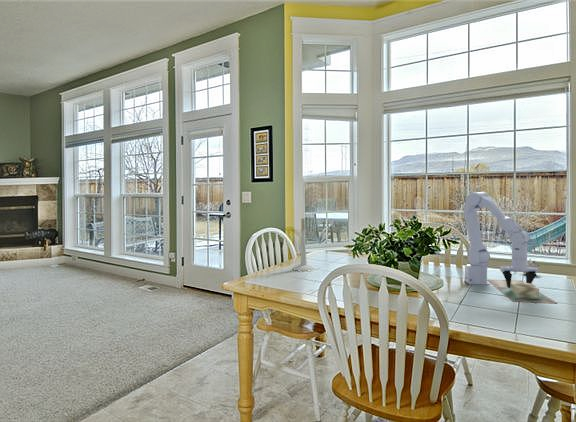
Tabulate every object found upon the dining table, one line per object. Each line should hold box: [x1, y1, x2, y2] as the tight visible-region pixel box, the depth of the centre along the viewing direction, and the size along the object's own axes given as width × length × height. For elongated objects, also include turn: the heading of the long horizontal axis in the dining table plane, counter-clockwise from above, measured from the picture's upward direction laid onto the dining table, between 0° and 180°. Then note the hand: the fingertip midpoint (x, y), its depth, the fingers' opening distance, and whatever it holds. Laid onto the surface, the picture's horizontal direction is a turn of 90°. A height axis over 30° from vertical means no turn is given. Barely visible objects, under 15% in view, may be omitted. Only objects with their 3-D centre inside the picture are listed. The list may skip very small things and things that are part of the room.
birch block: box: [510, 282, 540, 298], centre depth 156 cm, size 8×8×4 cm
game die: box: [522, 258, 540, 274], centre depth 189 cm, size 9×8×10 cm
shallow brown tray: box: [487, 278, 558, 304], centre depth 162 cm, size 16×34×1 cm, turn 168°
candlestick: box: [292, 218, 316, 272], centre depth 210 cm, size 13×13×30 cm
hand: (518, 287), depth 161 cm, fingers open, 7 cm apart
